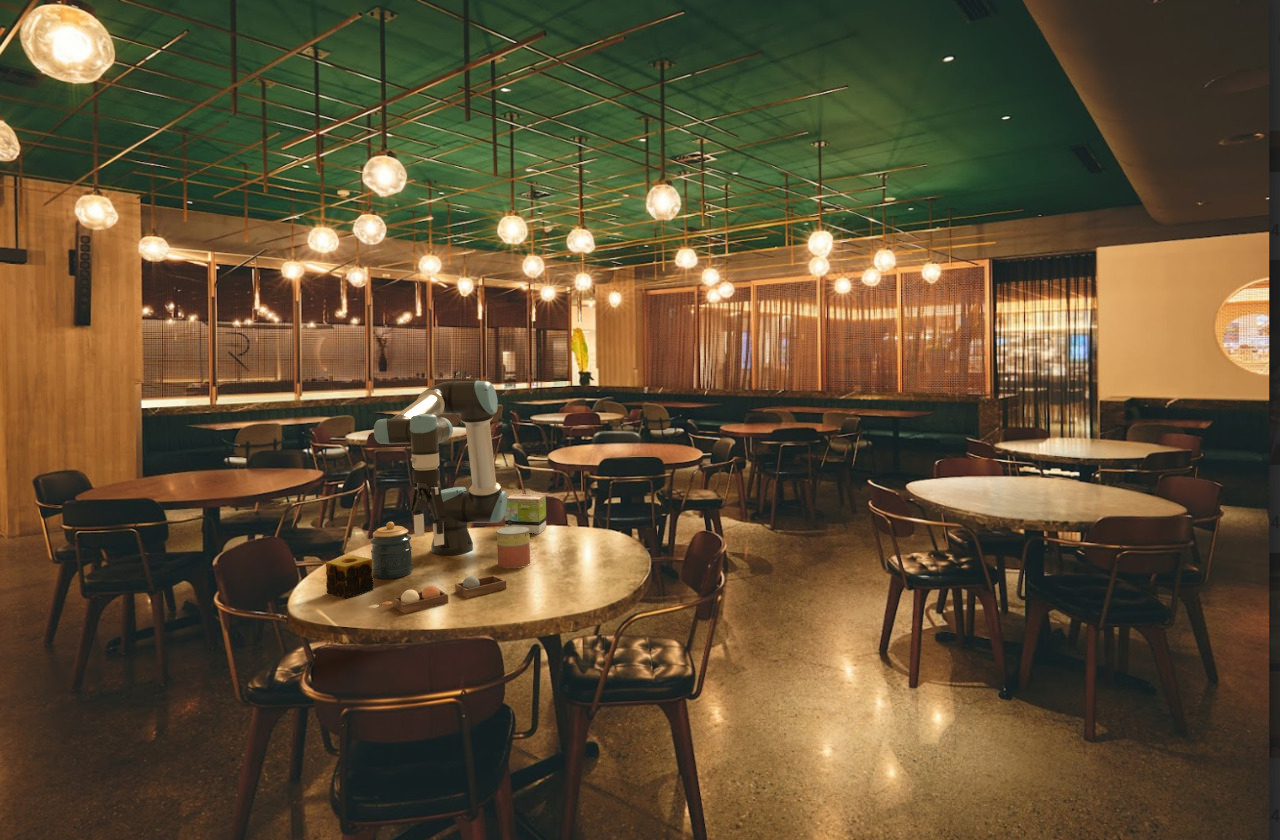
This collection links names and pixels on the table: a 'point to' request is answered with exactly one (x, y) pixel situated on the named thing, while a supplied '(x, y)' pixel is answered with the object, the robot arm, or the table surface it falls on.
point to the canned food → (513, 546)
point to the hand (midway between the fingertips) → (429, 540)
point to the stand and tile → (378, 605)
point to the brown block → (349, 576)
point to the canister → (391, 552)
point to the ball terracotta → (430, 592)
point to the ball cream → (409, 596)
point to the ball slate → (471, 582)
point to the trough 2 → (482, 586)
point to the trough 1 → (420, 603)
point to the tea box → (526, 512)
